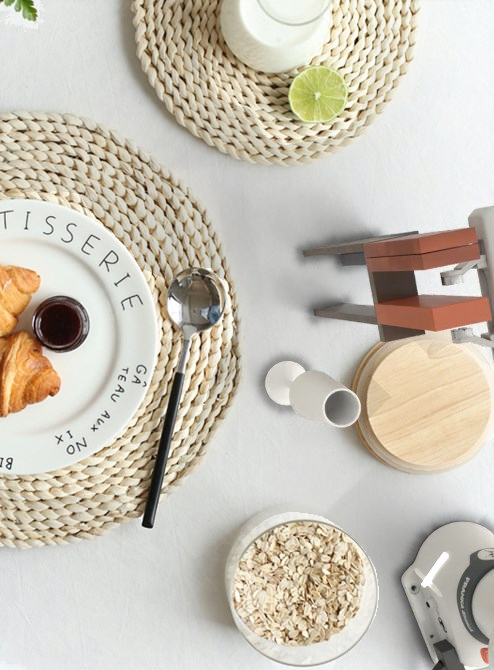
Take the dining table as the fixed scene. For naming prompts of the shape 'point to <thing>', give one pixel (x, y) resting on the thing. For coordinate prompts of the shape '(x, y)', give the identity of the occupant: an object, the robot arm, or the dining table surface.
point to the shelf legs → (345, 310)
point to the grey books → (359, 257)
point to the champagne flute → (312, 394)
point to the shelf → (393, 292)
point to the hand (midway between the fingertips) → (448, 308)
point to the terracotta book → (434, 312)
